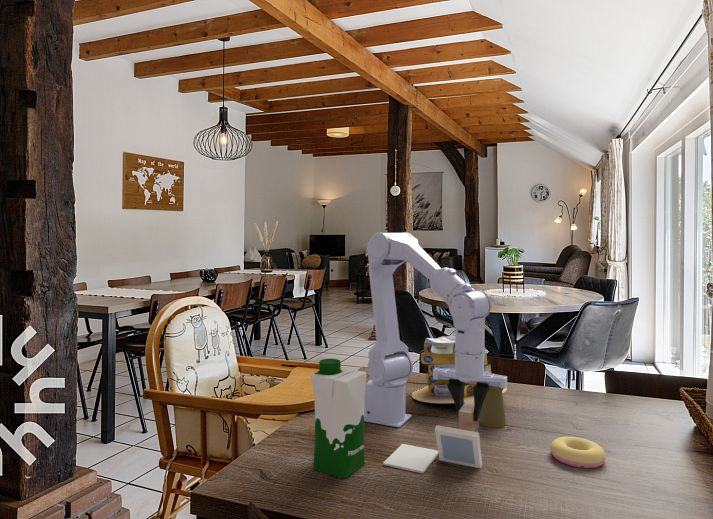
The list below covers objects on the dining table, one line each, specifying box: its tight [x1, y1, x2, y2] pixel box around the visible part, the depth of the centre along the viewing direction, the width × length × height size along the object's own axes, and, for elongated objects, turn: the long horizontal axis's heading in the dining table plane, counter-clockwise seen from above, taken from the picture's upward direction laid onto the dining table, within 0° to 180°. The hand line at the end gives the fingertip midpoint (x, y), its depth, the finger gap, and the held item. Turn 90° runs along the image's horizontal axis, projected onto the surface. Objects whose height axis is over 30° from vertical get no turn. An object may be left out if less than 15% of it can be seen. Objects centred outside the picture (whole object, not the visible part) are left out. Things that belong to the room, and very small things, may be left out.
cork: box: [479, 386, 507, 429], centre depth 122 cm, size 6×6×11 cm
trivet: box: [382, 443, 439, 474], centre depth 103 cm, size 8×10×1 cm
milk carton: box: [310, 358, 368, 480], centre depth 99 cm, size 9×9×20 cm
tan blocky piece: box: [458, 401, 481, 440], centre depth 105 cm, size 10×5×6 cm, turn 154°
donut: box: [549, 436, 607, 469], centre depth 103 cm, size 10×5×9 cm
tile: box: [434, 424, 483, 469], centre depth 100 cm, size 8×1×8 cm, turn 64°
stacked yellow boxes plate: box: [411, 334, 508, 404], centre depth 140 cm, size 25×25×17 cm
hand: (468, 418), depth 106 cm, fingers closed on tan blocky piece, 3 cm apart
